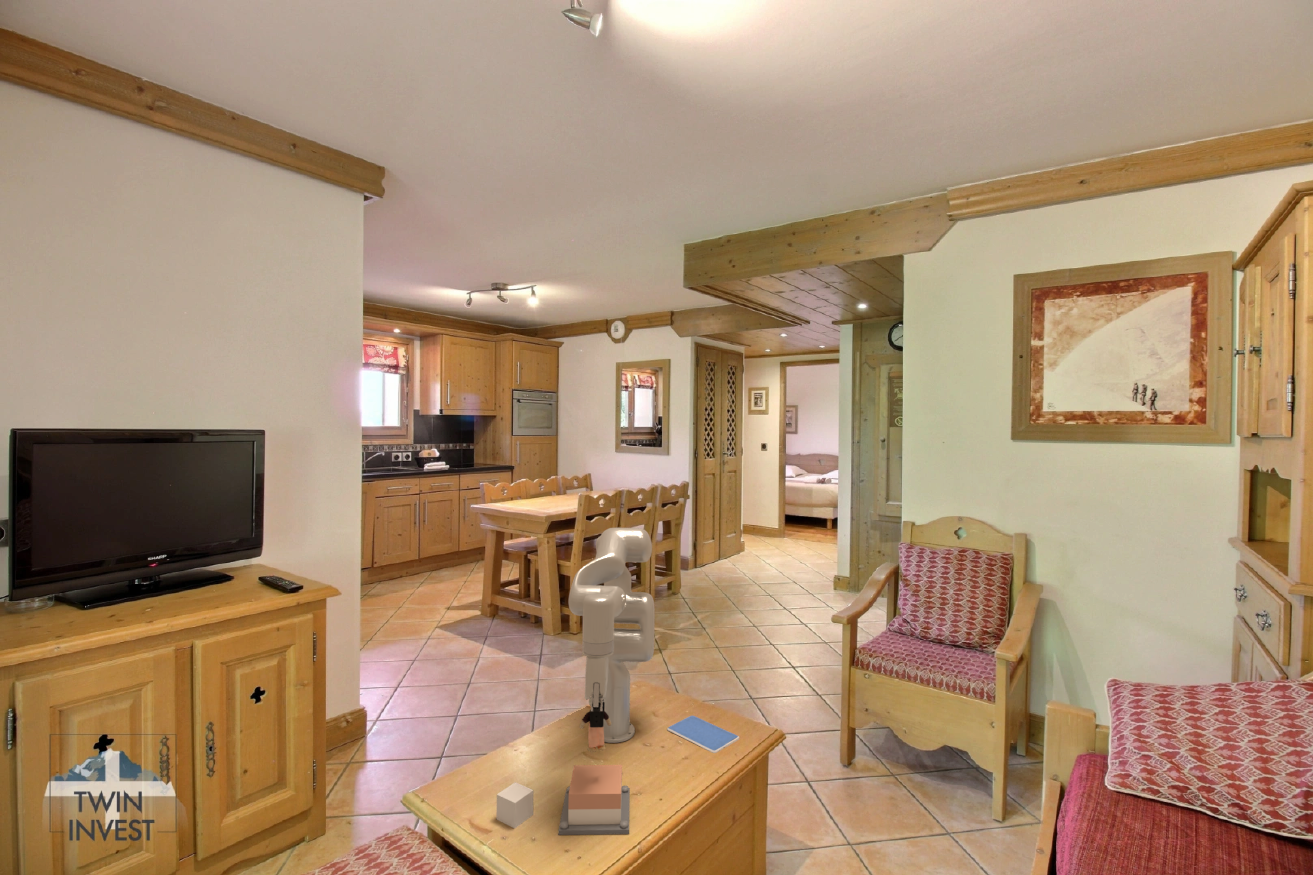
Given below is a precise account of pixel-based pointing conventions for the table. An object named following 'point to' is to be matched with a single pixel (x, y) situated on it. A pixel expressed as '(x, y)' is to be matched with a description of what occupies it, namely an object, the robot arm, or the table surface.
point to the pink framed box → (595, 802)
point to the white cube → (514, 805)
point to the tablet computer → (703, 734)
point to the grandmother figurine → (595, 732)
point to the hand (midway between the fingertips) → (597, 721)
